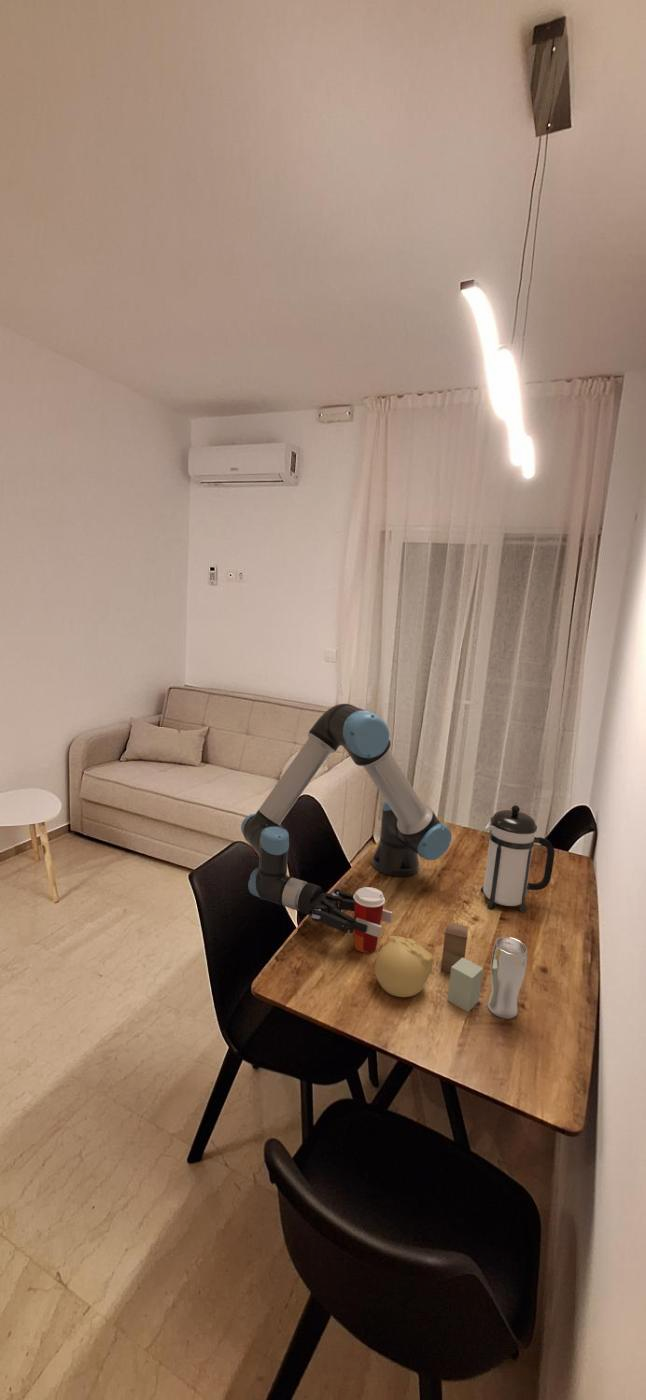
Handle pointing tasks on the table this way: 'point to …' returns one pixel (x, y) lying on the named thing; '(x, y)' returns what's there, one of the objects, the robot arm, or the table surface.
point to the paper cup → (367, 916)
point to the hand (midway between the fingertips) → (386, 924)
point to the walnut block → (453, 945)
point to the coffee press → (512, 858)
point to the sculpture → (403, 967)
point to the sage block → (465, 984)
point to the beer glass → (507, 976)
